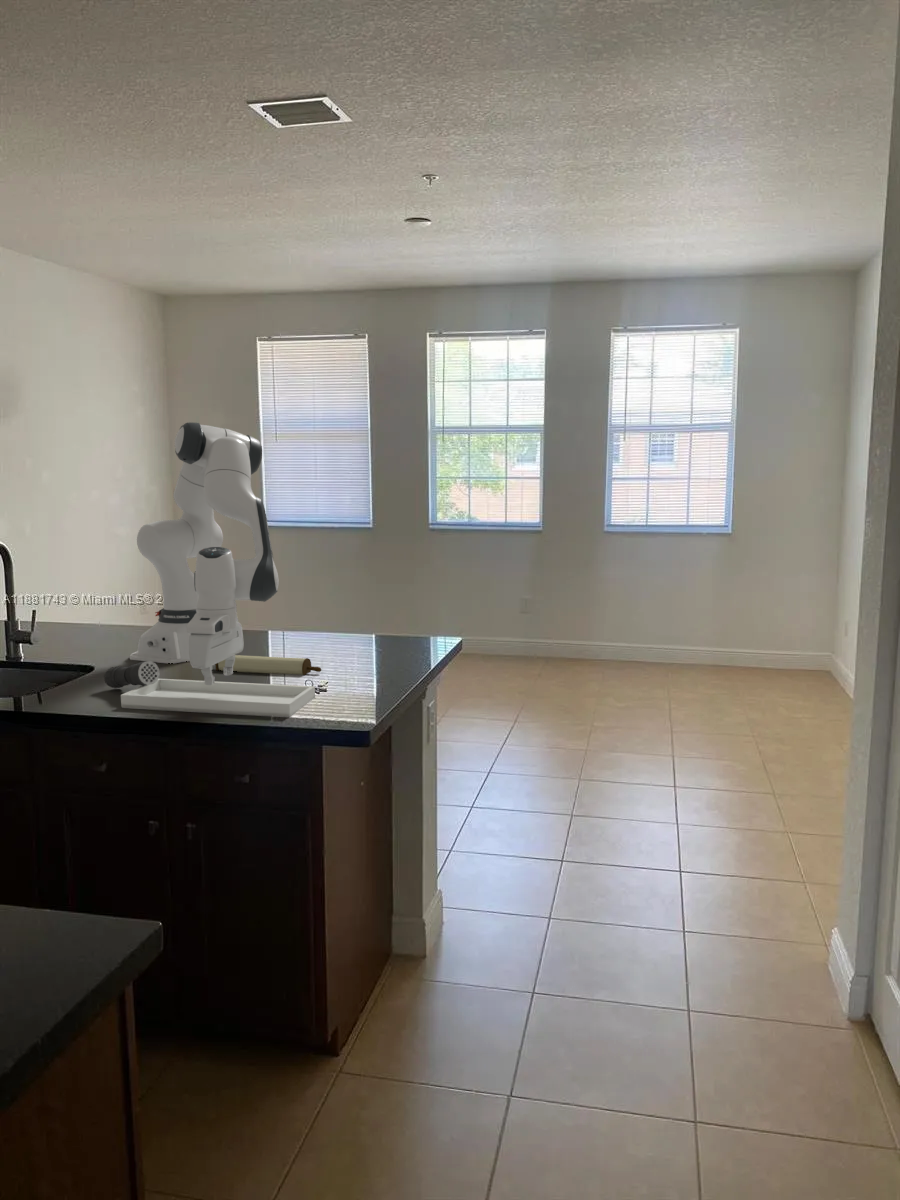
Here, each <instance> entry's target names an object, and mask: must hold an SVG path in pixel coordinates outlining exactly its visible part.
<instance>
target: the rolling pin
mask: <svg viewBox="0 0 900 1200" xmlns="http://www.w3.org/2000/svg"><path fill="white" fill-rule="evenodd" d="M225 660H226V659H225ZM225 660H223V661H221V662H219V663H217V664H214V665H213V666H214V667H215V669H216V672H219V671H220V670H221V672H224V671H223V668H224V667H225ZM218 670H219V671H218ZM233 671H237V673H253V674H254V673H255V674H275V675H276V674H279V675H297V676H299V675H300V676H306V675H307V674H309V673H311V671H313V672H316V673H320V672H322V667H320V666H312V661H311V659H310V658H308V657H307V658H306V657H305V658H304V657H302V658H301V657H280V656H261V655H260V656H259V655H238V654H236V655H235V662H234V666H233Z"/></svg>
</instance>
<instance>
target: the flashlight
mask: <svg viewBox="0 0 900 1200" xmlns="http://www.w3.org/2000/svg"><path fill="white" fill-rule="evenodd" d="M103 677H104V683H105V684H106V685H107V686H108V687H110V688H112V689H118V688H119V689H120V688H123V687H125V686H126V687H127V686H129V685H133V686H142V685H150V684H154V683H155V682H156V681H157V680H158V679H160V668H159V666H158V664H156V662H151V661H141V662H138V663H135V664H130V665H129V666H120V665H119V666H111V667H110V668H109V669H107V670H106V672H105V673H104V676H103Z"/></svg>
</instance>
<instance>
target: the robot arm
mask: <svg viewBox="0 0 900 1200" xmlns="http://www.w3.org/2000/svg"><path fill="white" fill-rule="evenodd" d="M174 448H175V449H174V451H175V452H174V453H175V454H176V457H177V458H178V460H180V461H182V462H183V463H182V464H181V468H180V471H179V474H178V478H177V481H176V484H175V488H174V491H173V500H174V502H175V504H176V505H177V507H178V508H179V509H180V510H181V511H182V515H181V517H180V518H178V519H163V520H162V519H161V520H157V521H152V522H149V523H146V524H144V525H142V526H141V527H140V528H139V530H138V532H137V536H136V545H137V549H138V550H139V552H140V553H141V555H142V556H143V557H144V558H145V559H147V560H148V561H149V562H150V563H152V565H153V567H154V568H155V569H156V571H157V574H158V576H159V578H160V582H161V588H162V590H161V592H162V598H163V599H162V600H163V608H161V609H160V610H158V611H155V612H154V613H155V615H154V616H155V617H158V621H157V622H156V623H155V624H153V625H152V626H150V628H149V629H147V630H146V631H145V632H143V633H142V634H141V635H140V637H139V638H138V643H137V644H138V645H137V651H135V652H132V653H131V654H129V660H130V661H141V662H147V661H151V662H154V663H159V664H160V663H161V664H168V663H170V665H171V663H173V664H177V663H187V662H189V663H190V666H191V667H192V669H200V671H201V674H202V676H203V678H204V679H203V681H205V685H212V684H214V683H215V679H216V678H215V675H213V671H212V670H214V669H213V666H215V665H214V664H217V663H219V662H221V661H223V660H225V659H226V660H225V667H224V668H223V671H222V672H223V675H224V676H231V675H233V674H234V672H233V666H234V662H235V655H238V654H240V653H242V652H243V650H244V634H243V627H242V626H243V625H242V624H241V623H240V622H239V618H238V610H237V602H236V601H251V602H263V603H264V602H267V601H268V600H270V599H271V598H273V597H274V596H275V595H276V594H277V593H278V589H279V582H280V580H279V573H278V569H277V567H276V563H275V560H274V554H273V549H272V543H271V535H270V530H269V523H268V519H267V512H266V508H265V506H264V503H263V501H262V499H261V498H259V496H256V495H255V494H254V491H253V489H252V483H251V482H252V481H251V480H252V475H253V474H255V473H256V472H257V471H258V470H259V468H260V465H261V463H262V460H263V446H262V444H261V441H260V440H259V439H257V438H255V437H254V436H252V435H249V434H247V435H245V434H244V433H241V432H238V431H235V430H232V429H229V428H225V427H223V428H222V427H218V426H213V425H206V424H201V423H199V422H192V421H191V422H190V421H189V422H185V423H183V424H182V425H181V426H180V428H179V429H178V431H177V432H176V436H175V438H174ZM214 512H216V513H219V514H220V515H221V516H224V517H227V518H229V519H232V520H235V521H238V522H240V523H242V524H244V525H246V526H248V527H249V528H250V529H251V534H252V538H253V539H252V540H253V546H254V551H255V552H254V553H255V555H254V557H252V558H247V559H245V558H242V559H237V558H236V559H235V558H234V557H233V552H232V550H231V549H229V548H226V547H223V541H224V534H223V531H222V528H221V526H220V525H219V524H218V523H217V522H216V520H215V514H214ZM193 558H196V562H195V569H194V570H195V571H192V570H191V568H190V566H189V563H188V559H193ZM186 661H187V662H186Z"/></svg>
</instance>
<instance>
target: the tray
mask: <svg viewBox="0 0 900 1200" xmlns="http://www.w3.org/2000/svg"><path fill="white" fill-rule="evenodd" d="M315 698H316V686H313V685H312V686H310V685H294V684H293V685H292V684H272V683H255V682H254V683H252V682H250V683H249V682H236V681H235V682H231V681H217V680H216V681H215V683H214V684H212V685H205V681H204V680H198V679H197V680H194V679H193V680H192V679H178V678H177V679H175V678H174V679H172V678H171V679H170V678H158V680H157V681H156V682H155V683H154V684H150V685H139V686H138V687H136V688H135V687H134V688H133V689H130V690H129V691H126V692H125V693H122V694H120V705H121V707H120V708H121V709H135V710H152V711H169V712H186V713H187V712H188V713H190V712H191V713H200V714H201V713H203V714H221V715H222V714H223V715H240V716H241V715H242V716H256V717H260V716H261V717H275V718H276V717H278V718H291V717H292V716H294V715H295V714H297V712H299V711H300V710H301V709H302V708H304V707H305V706H306V705H308V704H309V703H310V702H311V701H313V700H314V699H315Z"/></svg>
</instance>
